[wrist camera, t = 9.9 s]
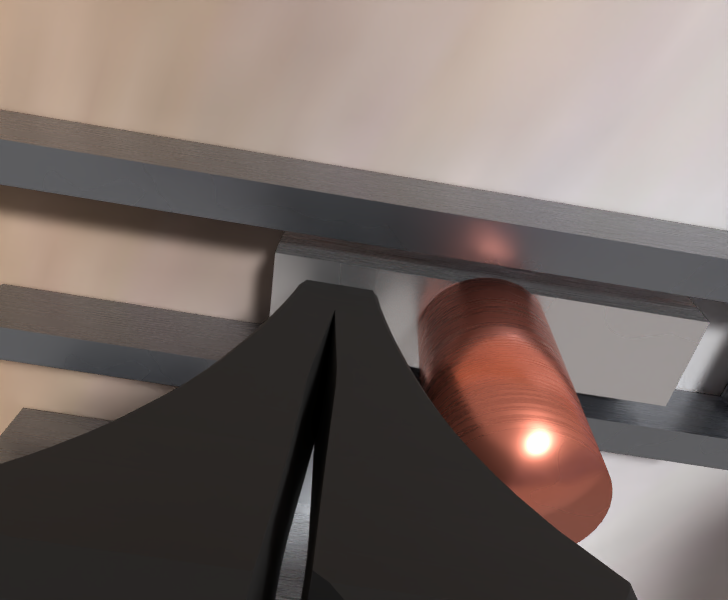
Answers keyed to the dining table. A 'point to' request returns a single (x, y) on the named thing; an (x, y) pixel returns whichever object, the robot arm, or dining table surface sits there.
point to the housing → (295, 556)
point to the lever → (515, 357)
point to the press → (338, 221)
